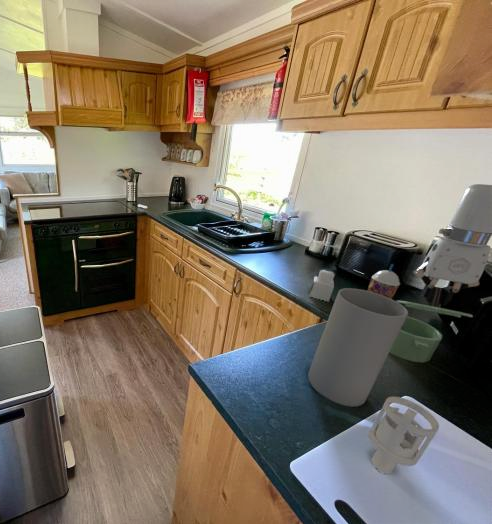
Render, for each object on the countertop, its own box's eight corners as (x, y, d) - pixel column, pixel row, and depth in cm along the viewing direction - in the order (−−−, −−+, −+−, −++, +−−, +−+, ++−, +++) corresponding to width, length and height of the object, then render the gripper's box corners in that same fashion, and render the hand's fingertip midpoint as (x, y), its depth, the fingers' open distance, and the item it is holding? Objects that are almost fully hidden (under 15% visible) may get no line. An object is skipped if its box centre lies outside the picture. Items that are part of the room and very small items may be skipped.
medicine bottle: (309, 290, 125) (317, 265, 121) (328, 295, 122) (337, 269, 118) (308, 297, 119) (317, 270, 115) (328, 302, 116) (338, 275, 112)
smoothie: (356, 310, 112) (376, 263, 104) (361, 303, 117) (380, 258, 110) (383, 320, 106) (406, 270, 99) (386, 312, 112) (408, 265, 104)
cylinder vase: (296, 372, 77) (325, 289, 68) (334, 367, 80) (366, 287, 71) (335, 412, 66) (376, 319, 56) (377, 404, 69) (423, 314, 59)
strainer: (352, 460, 55) (382, 402, 50) (366, 441, 59) (395, 386, 54) (397, 494, 50) (436, 434, 45) (409, 472, 54) (447, 414, 48)
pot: (414, 338, 96) (426, 317, 93) (442, 375, 80) (456, 351, 77) (366, 326, 101) (375, 305, 98) (382, 359, 85) (394, 335, 82)
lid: (441, 314, 83) (447, 291, 83) (490, 323, 69) (496, 296, 69) (384, 302, 87) (389, 280, 86) (419, 308, 72) (425, 282, 72)
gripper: (431, 234, 71) (401, 299, 78) (522, 246, 65) (481, 316, 72) (418, 227, 77) (391, 288, 84) (500, 238, 71) (464, 303, 78)
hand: (433, 300), depth 78 cm, fingers closed on lid, 2 cm apart
